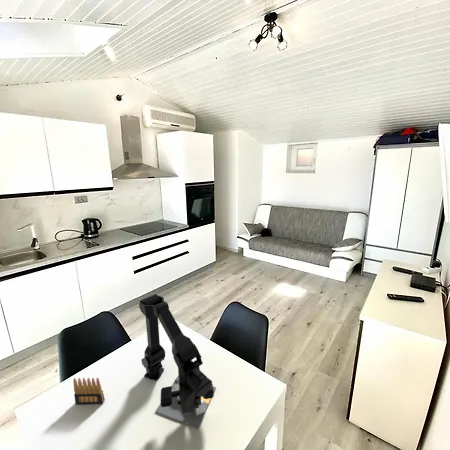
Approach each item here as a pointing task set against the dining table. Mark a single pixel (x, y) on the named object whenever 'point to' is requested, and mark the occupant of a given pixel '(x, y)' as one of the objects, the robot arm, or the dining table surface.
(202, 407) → the elbow
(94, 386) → the ammunition clip
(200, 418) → the base
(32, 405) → the dining table surface
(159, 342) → the robot arm
